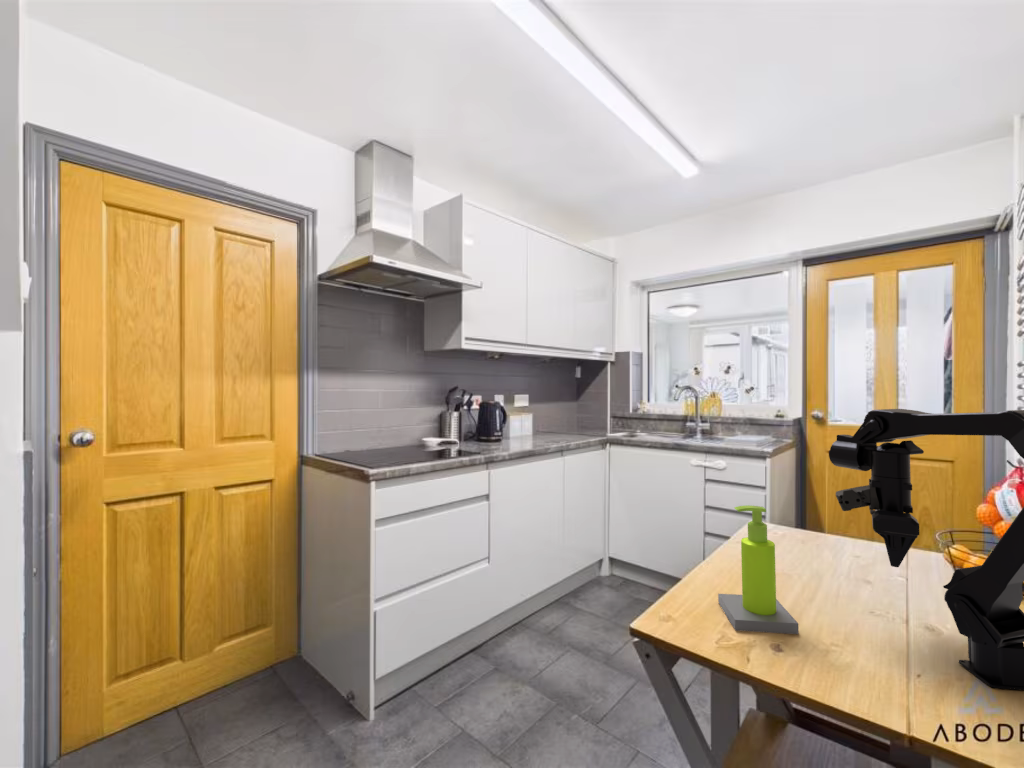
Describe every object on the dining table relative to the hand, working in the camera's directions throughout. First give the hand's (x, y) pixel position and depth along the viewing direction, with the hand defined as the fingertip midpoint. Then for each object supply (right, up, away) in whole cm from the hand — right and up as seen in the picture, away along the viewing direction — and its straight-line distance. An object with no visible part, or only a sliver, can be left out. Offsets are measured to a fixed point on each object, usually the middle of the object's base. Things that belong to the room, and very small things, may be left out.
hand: (892, 558), depth 86 cm
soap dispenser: (-23, -12, +5) cm, 26 cm away
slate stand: (-23, -14, +5) cm, 27 cm away
